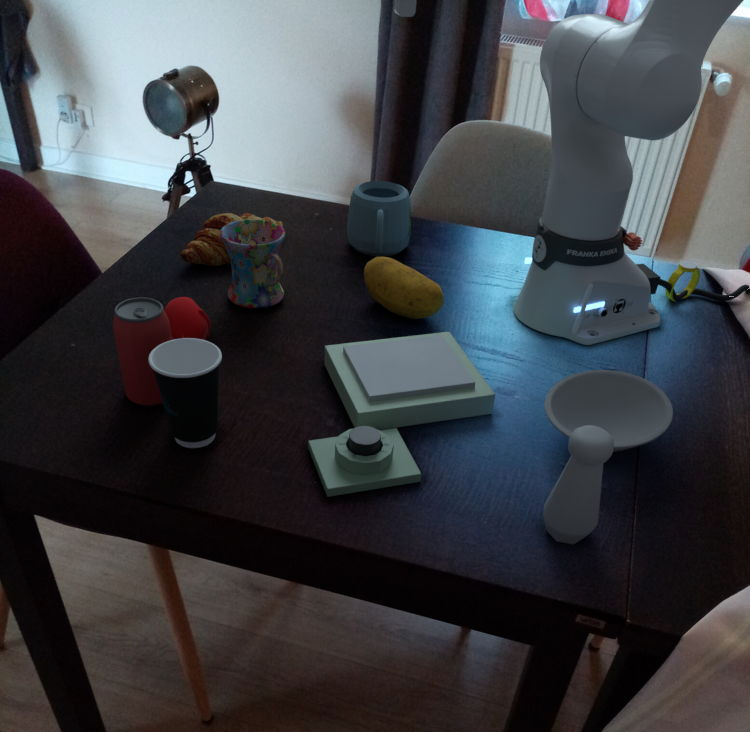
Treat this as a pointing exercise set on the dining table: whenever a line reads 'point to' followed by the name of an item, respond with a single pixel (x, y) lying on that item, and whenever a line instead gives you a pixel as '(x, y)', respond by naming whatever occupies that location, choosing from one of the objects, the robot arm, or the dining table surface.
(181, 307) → the cap
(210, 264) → the croissant
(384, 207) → the mug
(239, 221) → the mug
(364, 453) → the tare button
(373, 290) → the potato
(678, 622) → the dining table surface
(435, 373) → the scale
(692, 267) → the watch
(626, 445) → the dish
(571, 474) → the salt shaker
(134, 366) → the beer can
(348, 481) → the green dial panel
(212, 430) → the dixie cup
